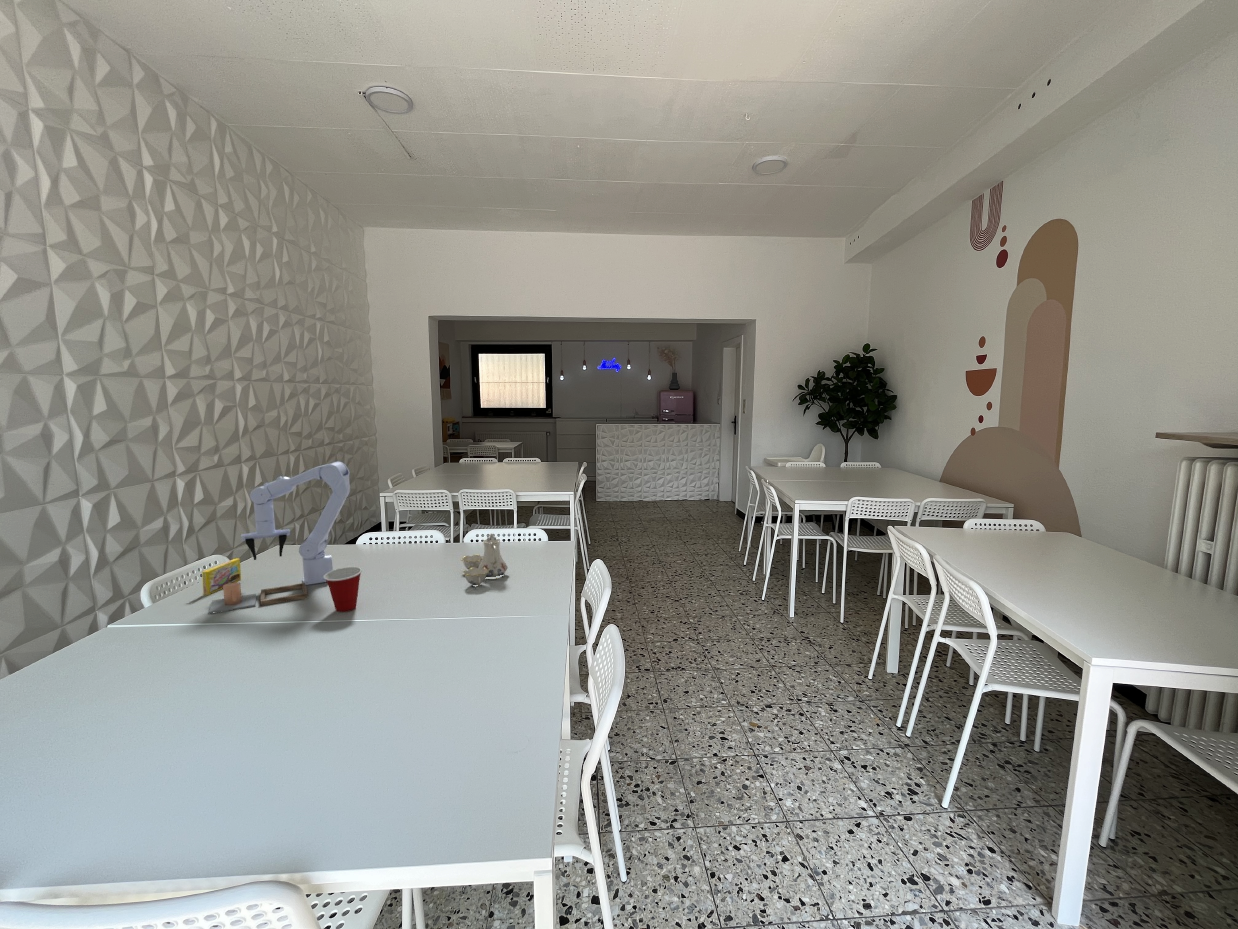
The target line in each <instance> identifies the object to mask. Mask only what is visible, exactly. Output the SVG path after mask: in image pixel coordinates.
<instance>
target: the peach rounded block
mask: <svg viewBox="0 0 1238 929" xmlns="http://www.w3.org/2000/svg"><path fill="white" fill-rule="evenodd" d="M222 591H223V599H224V603H225V605H235V604H239V603H241V602H242V596H243V595H242V587H241V583H240V582H239V581H238V582H234V583H228V584H225V585H223V590H222Z"/></svg>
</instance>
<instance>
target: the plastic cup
mask: <svg viewBox="0 0 1238 929" xmlns="http://www.w3.org/2000/svg"><path fill="white" fill-rule="evenodd" d="M362 572H363V570H362V568H361V567H359V566H345V567H340V568H336V569H333V570H332V571H330V572H328V573H326V574H325V575H324V579H325V580H326V581H327V582H326V583H327V586H328V589H329V592H330V595H331V599H332V602H333V605H334V609H335V611H336V612H338V613H344V612H345V613H346V612H350V611H353V610H356V607H357V604H358V603H357V602H358V597H359V590H360V589H359V588H360V580H361V575H362V574H361V573H362Z"/></svg>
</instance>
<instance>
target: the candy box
mask: <svg viewBox="0 0 1238 929" xmlns="http://www.w3.org/2000/svg"><path fill="white" fill-rule="evenodd" d="M241 572H242V571H241V559H240V558H234V559H231V560H228V561H226V562H223V563H220V564H219V565H216V566H213V567H211V568H207V569H206V570H203V571H202V574H201V575H202V576H201V577H202V591H203V592H202V593H203V596H209V595H211V593H212V594H214V593H216V592H218V591H221V590H222V588H223V585H225V584H228V583H234V582H239V581H241V580H242V573H241ZM213 592H214V593H213Z"/></svg>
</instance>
